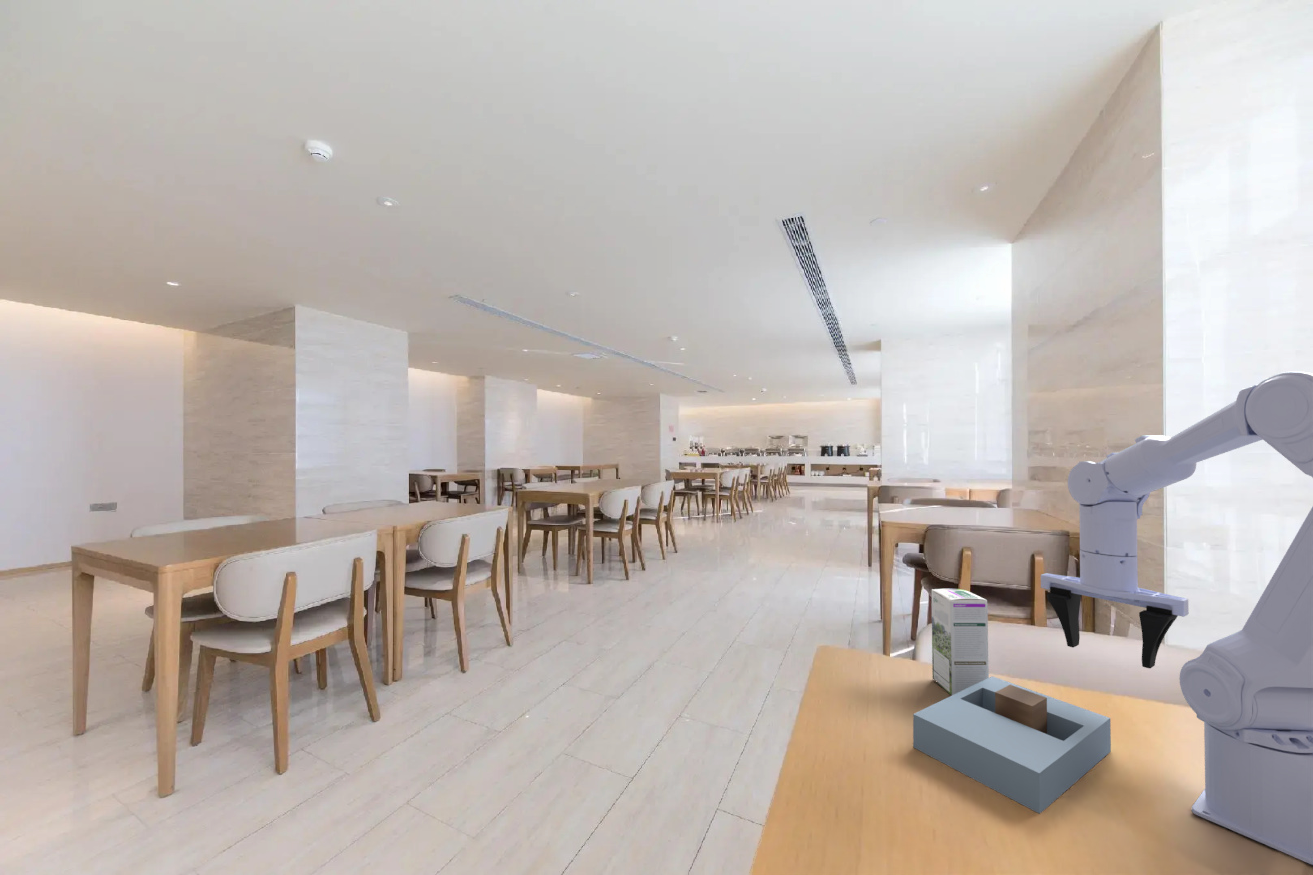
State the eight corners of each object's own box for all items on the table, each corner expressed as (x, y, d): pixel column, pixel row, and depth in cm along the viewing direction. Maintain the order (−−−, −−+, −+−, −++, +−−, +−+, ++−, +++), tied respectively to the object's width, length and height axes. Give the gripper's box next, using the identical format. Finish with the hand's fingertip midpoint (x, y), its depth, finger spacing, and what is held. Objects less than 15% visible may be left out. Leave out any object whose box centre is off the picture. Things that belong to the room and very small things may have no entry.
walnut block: (1047, 747, 61) (1046, 697, 61) (1032, 757, 59) (1032, 706, 59) (1010, 731, 64) (1010, 684, 65) (995, 740, 62) (995, 692, 63)
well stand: (1110, 751, 60) (1110, 717, 60) (1039, 813, 50) (1039, 773, 50) (992, 704, 71) (992, 676, 71) (913, 747, 61) (913, 713, 61)
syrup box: (991, 698, 73) (990, 599, 73) (950, 697, 73) (950, 598, 74) (967, 680, 79) (967, 588, 79) (930, 679, 79) (929, 587, 79)
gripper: (1194, 559, 62) (1196, 668, 62) (1054, 541, 75) (1055, 632, 74) (1178, 565, 59) (1180, 682, 58) (1034, 545, 71) (1034, 641, 70)
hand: (1108, 655), depth 66 cm, fingers open, 7 cm apart
